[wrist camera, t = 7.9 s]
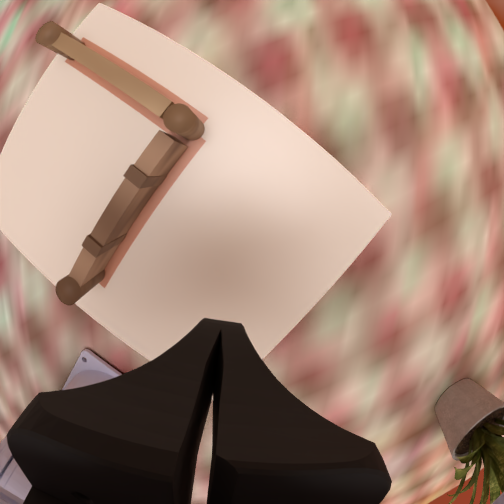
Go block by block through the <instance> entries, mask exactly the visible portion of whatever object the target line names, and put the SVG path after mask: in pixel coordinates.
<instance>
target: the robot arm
mask: <svg viewBox="0 0 504 504" xmlns="http://www.w3.org/2000/svg"><path fill="white" fill-rule="evenodd" d="M84 357H85V358H86V359H87V360H86V359H85V358H84ZM212 396H213V446H212V460H211V469H210V478H209V487H208V497H207V504H379V503H380V502H381V501H382V500H383V499H384V497H385V496H386V494H387V493H388V492H389V490H390V487H391V482H392V481H391V478H390V476H389V473H388V471H387V468H386V465H385V463H384V460H383V458H382V456H381V454H380V452H379V450H378V449H377V447H376V445H375V443H373V442H371V441H369V440H366V439H364V438H362V437H360V436H357V435H355V434H353V433H351V432H349V431H347V430H344V429H342V428H341V427H339V426H337V425H335V424H333V423H332V422H330V421H328V420H327V419H325V418H323V417H322V416H320V415H319V414H317V413H316V412H314V411H313V410H311V409H310V408H309V407H307V406H306V405H305V404H304V403H302V402H301V401H300V400H299V399H297V398H296V397H295V396H294V395H293V394H292V393H290V392H289V391H288V390H287V389H286V388H285V387H284V386H283V385H282V384H281V383H280V382H279V381H278V380H277V379H276V377H275V376H274V375H273V374H272V373H271V371H270V370H269V369H268V367H267V366H266V365H265V363H264V362H263V361H262V359H261V358H260V356H259V354H258V353H257V351H256V350H255V348H254V346H253V345H252V343H251V341H250V339H249V337H248V335H247V333H246V331H245V328H244V326H243V325H242V323H236V322H229V321H222V320H215V319H209V318H203V319H202V320H201V321H200V322H199V323H198V324H197V325H196V326H195V327H194V328H193V329H192V330H191V331H190V332H189V333H188V334H187V335H185V336H184V337H183V338H182V339H181V340H180V341H178V342H177V343H176V344H175V345H173V346H172V347H171V348H169V349H168V350H167V351H165V352H164V353H162V354H161V355H160V356H158V357H157V358H155V359H153V360H152V361H150V362H148V363H146V364H145V365H143V366H141V367H139V368H137V369H134V370H132V371H130V372H127V373H125V374H121V373H120V372H118V371H117V370H116V369H114V368H113V367H111V366H110V365H109V364H107V363H106V362H105V361H103V360H102V359H101V358H99V357H98V356H97V355H95V354H94V353H93V352H92V351H90V350H89V349H84V350H83V351H82V353H81V354H80V356H79V358H78V360H77V362H76V364H75V366H74V368H73V369H72V371H71V373H70V375H69V377H68V379H67V381H66V383H65V385H64V387H63V389H62V390H59V391H52V392H41V393H39V394H38V395H37V396H36V397H35V398H34V399H33V400H32V401H31V403H30V404H29V405H28V406H27V407H26V409H25V410H24V411H23V413H22V414H21V415H20V417H19V418H18V419H17V421H16V422H15V424H14V425H13V426H12V428H11V429H10V430H9V432H8V434H7V436H6V437H5V438H4V439H3V440H2V441H1V442H0V504H191V498H192V490H193V483H194V475H195V468H196V461H197V454H198V450H199V445H200V441H201V437H202V434H203V430H204V426H205V422H206V419H207V415H208V411H209V407H210V404H211V400H212ZM492 504H504V492H503V493H502V494H501V495H500V496H499V497H498V498H497V499H496V500H495V501H494V502H493V503H492Z"/></svg>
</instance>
